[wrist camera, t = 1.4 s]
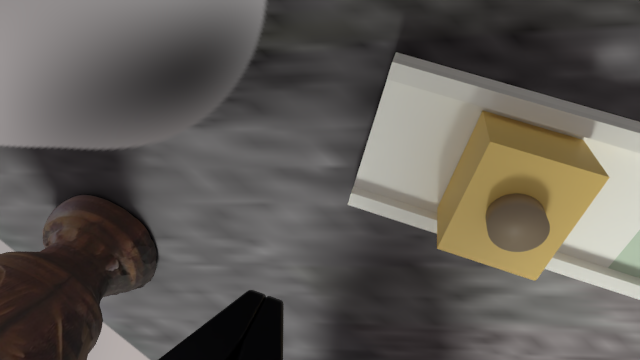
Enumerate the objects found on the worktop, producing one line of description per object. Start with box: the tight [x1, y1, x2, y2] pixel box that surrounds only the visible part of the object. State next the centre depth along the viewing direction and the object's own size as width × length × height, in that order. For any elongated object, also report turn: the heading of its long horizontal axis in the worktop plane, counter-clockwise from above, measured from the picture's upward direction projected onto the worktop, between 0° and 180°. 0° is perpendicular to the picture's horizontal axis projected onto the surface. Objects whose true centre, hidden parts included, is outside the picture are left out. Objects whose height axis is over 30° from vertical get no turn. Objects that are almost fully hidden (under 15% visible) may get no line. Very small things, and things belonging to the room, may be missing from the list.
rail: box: [348, 52, 640, 300], centre depth 17 cm, size 7×18×4 cm, turn 77°
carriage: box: [437, 111, 610, 281], centre depth 16 cm, size 5×4×4 cm
